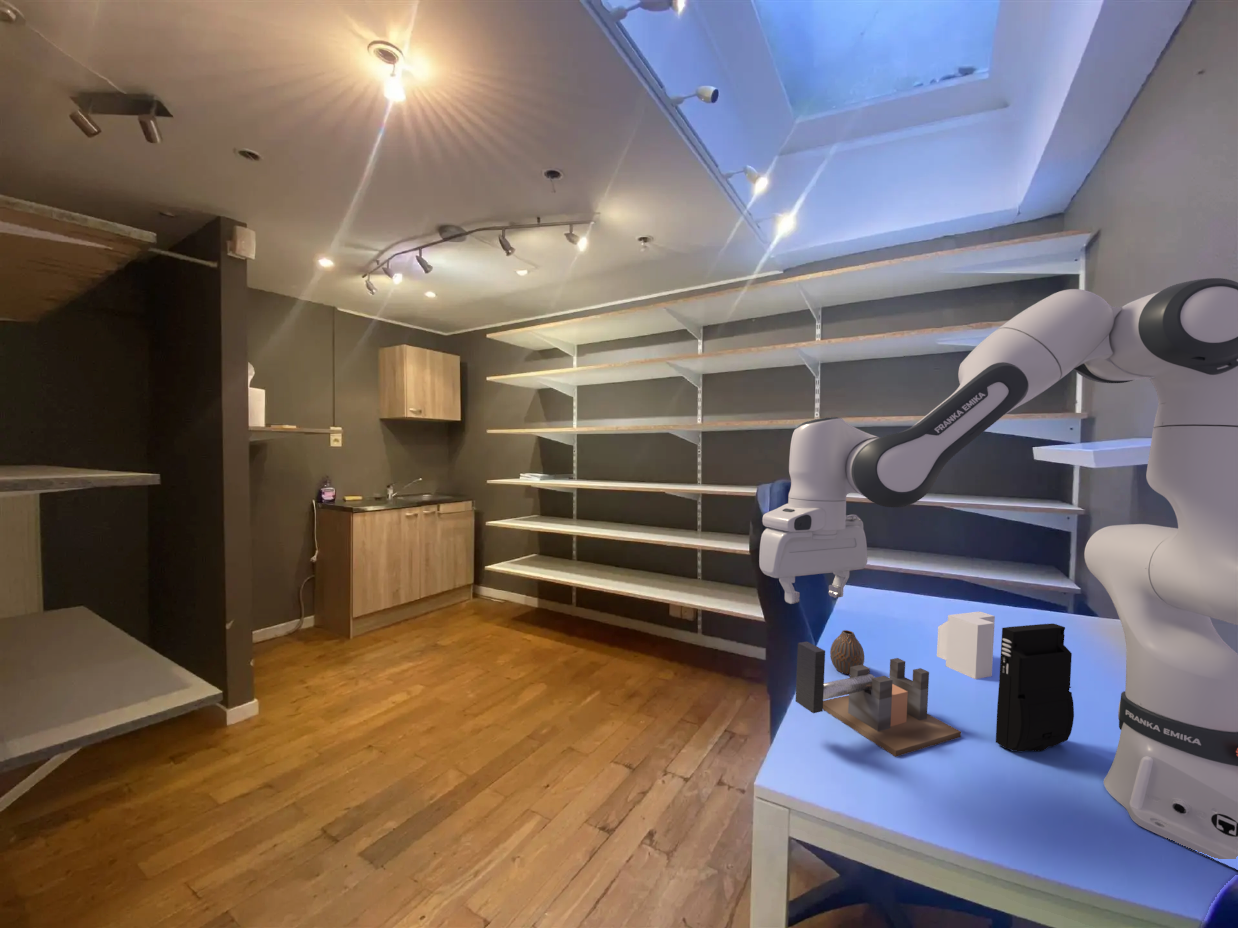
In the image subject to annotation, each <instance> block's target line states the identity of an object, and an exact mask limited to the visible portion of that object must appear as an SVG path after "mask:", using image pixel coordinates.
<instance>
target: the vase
mask: <svg viewBox="0 0 1238 928" xmlns="http://www.w3.org/2000/svg"><path fill="white" fill-rule="evenodd" d="M829 653H830V654H829V655H830V660H831V664H832V665H833V668H834V669H836V670H837V671H838V672H839V673H842V674H844V675H847V676H848V675H849V676H850V667H853V666H858V665H864V663H865V652H864V649H863V646H862V644H861V643H860V641H859V640H858V638H857V637H856V635H855V633H854V632H853V631H851V630H846V629H844V630H842V631H841V633H840V634H839V635H838V636H837V637H836V638H835V639H834V640H833V641H832V644H831V646H830V651H829Z"/></svg>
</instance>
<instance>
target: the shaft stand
mask: <svg viewBox="0 0 1238 928" xmlns="http://www.w3.org/2000/svg"><path fill="white" fill-rule="evenodd" d="M870 670H871V669H870V667H868V666H865V665H864V664H863V665H858V666H853V667H850V675H849V678H852V677H857V676H862V675H867V674H870ZM874 677H875V676H874ZM929 677H930V671H928V670H925V669H923V668H921V667H918V668H916V669H915V668H914V669H912V679H909V678H907V677H906V661H905V660H904V659H901V658H899V657H896V658H891V659H889V676H886V675H881V676H876V677H875V678H872V689H870V690H866V691H861V692H857V693H852V694H847V695H843V696H838V697H834V698H829V699H825V700H823V711H824V712H826V713H827V714H830V715H831V716H832V717H834V718H835V719H837V720H839V721H840V722H842V723H843V724H844V725H846V726H847V727H849V728H851V729H852V730H854V731H856V732H857V733H858V734H860V735H861V736H863V737H865V738H866V740H869V741H870V742H872V743H873V744H875V745H877V746H878V747H880V748H881V749H882V750H884V751H886V752H887V753H889V754H890V755H892V756H894V757H895V758H896V757H899V756H903V755H907V754H909V753H913V752H914V753H915V752H916V751H917V752H918V751H919V750H923V749H926V748H929V747H932V746H937V745H939V744H943V743H946V742H949V741H953V740H956V739H961V738H962V731H961V730H959V729H957V728H956V727H953V726H951V725H950V724H948V723H946V722H944V721H942V720H940V719H939V718H937V717H934V716H932V715H931V714H929V713H928V706H929V705H928V704H929V702H928V699H929V683H930V681H929V680H930V678H929ZM892 684H894V685H896V686H898V687H900V688H902V689H904V690H906V691H908V698H907V719H906V722H905V723H902V724H898V725H894V726H890V725H891V704H892Z"/></svg>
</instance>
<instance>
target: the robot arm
mask: <svg viewBox="0 0 1238 928" xmlns="http://www.w3.org/2000/svg"><path fill="white" fill-rule="evenodd" d="M1072 370H1073V371H1075V372H1076V373H1077V374H1078V375H1080V376H1081V377H1083V378H1085V379H1087V380H1090V381H1091V382H1092V381H1093V382H1096V383H1102V384H1123V383H1124V384H1125V383H1129V382H1132V381H1137V380H1145V379H1149V381H1150V382H1151V384H1152V385H1153V387H1154V389H1155V391H1156V396H1157V404H1158V405H1157V409H1156V413H1155V418H1154V423H1153V429H1152V435H1151V440H1150V442H1151V443H1150V449H1149V453H1148V454H1149V455H1148V461H1147V468H1146V476H1145V477H1146V482H1147V483H1148V485H1149V486H1150V487H1149V488H1151V489H1152V490H1154V492H1156V493H1158V494H1159V495H1161V496H1163V497H1164V498H1165V499H1166V500H1167V501H1168V502H1169V505H1170V506H1171V507H1172V509H1173V511H1174V513H1175V517H1176V522H1177V527H1169V526H1162V525H1156V524H1148V523H1137V524H1136V523H1135V524H1134V523H1133V524H1129V523H1127V524H1115V525H1108V526H1105V527H1102V528H1100V529H1098V530H1097V531H1095V532H1094V533H1093V534H1092V535H1091V536H1090V537H1089V539H1088V541H1087V542H1086V545H1085V547H1084V555H1083V556H1084V562H1085V564H1086V567H1087V569H1088V571H1089V573H1091V574H1092V576H1094V578H1096V579H1097V580H1098V581H1099V583H1100V584H1102V586H1103V587H1104V589H1105V591H1106V592H1107V593H1108V595H1109V597H1110V599H1111V600H1112V601H1111V602H1112V603H1113V606H1114V608H1115V610H1116V613H1117V615H1118V618H1119V622H1120V623H1121V627H1122V630H1123V631H1122V632H1123V635H1124V640H1125V649H1126V650H1125V651H1126V652H1125V655H1126V656H1125V657H1126V660H1125V690H1123V691H1121V693H1120V699H1119V702H1118V712H1117V713H1118V715H1117V716H1118V729H1119V730H1120V734H1119V740H1118V744H1117V747H1116V748H1117V749H1116V751H1115V755H1114V759H1113V760H1112V764H1111V765H1110V767H1109V770H1108V771H1107V774H1106V775H1105V777H1104V779H1103V785H1104V788H1105V789H1106V791H1107V793H1109V794H1110V796H1111V797H1112V798H1113V799H1115V800H1116V801H1117V803H1119V804H1120V805H1122V807H1124V809H1125V810H1126V811H1127V813H1128V815H1129V817H1130V818H1131V819H1132V821H1133V823H1135V824H1136V825H1138V826H1139V827H1142V828H1143V829H1145V830H1148V831H1149V832H1152V833H1153V834H1154V833H1155V834H1156V835H1158V836H1161V837H1162V838H1165V839H1167V838H1168V839H1167V840H1169V839H1170V840H1169V841H1171V840H1173V841H1175V842H1174V843H1176V842H1177V843H1176V844H1178V843H1179V845H1180V844H1181V845H1180V846H1182V845H1183V847H1184V846H1186V847H1185V848H1187V847H1188V848H1187V849H1189V848H1191V849H1193V850H1197V851H1198V852H1202V853H1204V854H1207V855H1209V856H1211V857H1214V858H1218V859H1236V857H1237V856H1238V653H1237V652H1236V651H1235V650H1234V649H1233V648H1232V647H1230V646H1229V644H1227V643H1226V642H1225V641H1224V640H1223V638H1222V637H1221V636H1220V635H1219V633H1218V631H1217V630H1216V628H1215V626H1214V624H1213V622H1212V619H1215V620H1219V621H1222V622H1225V623H1229V624H1231V625H1236V626H1238V281H1236V280H1232V279H1229V278H1223V277H1222V278H1220V277H1215V278H1212V277H1208V278H1200V279H1199V278H1198V279H1194V280H1188V281H1184V282H1181V283H1180V282H1179V283H1176V284H1173V285H1170V286H1168V287H1165V288H1164V289H1162V290H1160V291H1157V292H1154V293H1151V294H1148V295H1145V296H1142V297H1139V298H1138V299H1135V300H1133V301H1130V302H1128V303H1126V304H1125V305H1123V306H1119V307H1118V306H1112V305H1110V304H1109V303H1108V302H1107V301H1106V299H1104V298H1103V297H1101V295H1098V294H1096V293H1094V292H1093V291H1089V290H1085V289H1080V288H1070V289H1063V290H1060V291H1058V292H1054V293H1052V294H1051V295H1049V296H1047V297H1045V298H1043V299H1041V300H1039V301H1037V302H1036V303H1034V304H1032V305H1031V306H1029V307H1027V308H1026V309H1024V310H1022V311H1021V312H1019V313H1018V314H1015V316H1013V317H1012V318H1010V319H1009V320H1008V321H1006V322H1005V323H1004V324H1002V325H1001V326H999V327H997V329H995V330H994V331H993V332H992V333H990V334H989V335H988V336H987V337H985V338H984V339H983V340H982V341H981V342H980V343H979V344H978V345H976V347H974V348H973V349H972V351H971V352H969V354H968V355H966V357H965V358H964V359H963V360H962V362H961V363H959V368H958V375H957V376H958V381H959V382H958V383H959V386H958V387H957V388H956V390H954V392H953V393H952V394H951V395H949V396H948V397H947V398H946V399H944V400H943V401H942V402H941V403H939V404H938V405H937V406H936V407H935V408H933V409H932V410H931V411H930V412H929V413H927V414H926V415H925V416H924V417H922V418H921V419H920V420H919V421H917V422H916V423H915V424H914V425H912V426H911V427H909V428H906V429H905V430H902V431H900V432H895V433H893V434H889V435H885V436H882V437H881V436H880V437H879V436H877V435H875V434H874V435H873V434H870V433H868V432H865V431H863V430H861V429H859V428H857V427H855V426H853V425H852V424H849V423H848V422H846V421H845V420H844V419H843V418H842V417H839V416H831V417H823V418H816V419H812V420H808V421H804V422H802V423H801V424H799V425H798V426H797V427H796V428H795V429H794V431H793V433H792V436H791V441H790V447H789V448H790V449H789V461H788V472H789V476H790V489H789V492H788V501H787V503H785V504H783V505H781V506H779V507H776V508H775V509H772V510H770V511H767V512H766V513H764V514H763V516H762V525H763V526H764V527H766V528H765V529H764V530H763V532H762V533H761V537H760V543H759V558H758V559H759V560H758V562H759V568H760V570H761V572H762V573H763V574H764V575H766V576H768V577H771V578H774V579H778V581H779V583H780V585H781V587H782V589H783V591H784V601H785V603H787V604H790V605H792V604H798V603H800V592H799V591H796V590H795V587H794V585H793V584H795V582H796V577H801V576H811V575H818V574H819V575H821V574H829V573H833V575H834V579H833V581H832V583H831V584H829V585H828V595H829V596H830V597H833V598H836V599H837V598H842V597H843V596H844V587H846V584H847V582H848V581H849V578H850V571H855V570H856V571H858V570H864V569H865V568H866V566H867V564H868V546H867V538H866V533H865V530H864V522H863V521H862V519H861V518H860V517H859V516H858V515H857V514H849V515H847V495H849V494H851V493H852V494H859V495H861V496H862V497H865V498H866V499H867V500H869V501H870V502H871V503H874V504H876V505H879V506H882V507H887V508H902V507H907V506H910V505H912V504H915V503H916V502H919V501H920V500H921V499H923V498H924V497H925V496H926V495H927V494H928V493H929V492H930V490H931V489H932V487H933V486H934V485H935V482H936V480H937V479H938V478H939V476H940V473H941V472H942V470H943V469H944V467H945V466H946V464H948V462H950V460H951V459H952V458H953V457H954V456H955V455H956V454H958V453H959V452H960V451H962V450H963V449H964V448H965V447H966V446H968V445H969V444H971V442H972V441H973V442H974V440H975V439H976V438H978V437H979V436H981V434H983V433H984V432H985V431H986V430H988V428H990V427H991V426H993V425H994V424H996V422H998V421H999V420H1000V419H1001V418H1002V417H1003V416H1005V415H1007V414H1009V413H1010V412H1012V411H1013V410H1015V409H1017V408H1018V407H1020V406H1022V405H1024V404H1027V402H1029V401H1031V400H1032V399H1034V398H1036V397H1038V396H1039V395H1040V394H1042V393H1043V392H1045V391H1046V390H1048V389H1049V388H1050V387H1052V386H1053V385H1055V384H1056V383H1057V382H1059V381H1060V380H1062V379H1063V378H1064V377H1065V376H1067V375H1068V374H1069V373H1070V372H1072ZM1173 841H1172V842H1173ZM1191 849H1190V850H1191ZM1193 850H1192V851H1193ZM1198 852H1197V853H1198Z"/></svg>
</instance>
